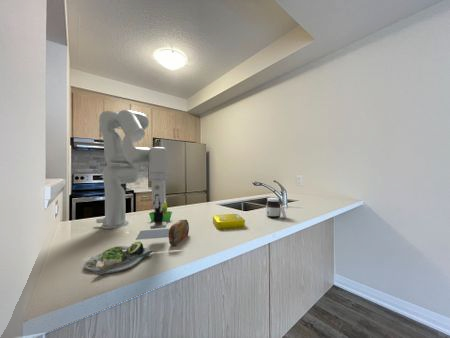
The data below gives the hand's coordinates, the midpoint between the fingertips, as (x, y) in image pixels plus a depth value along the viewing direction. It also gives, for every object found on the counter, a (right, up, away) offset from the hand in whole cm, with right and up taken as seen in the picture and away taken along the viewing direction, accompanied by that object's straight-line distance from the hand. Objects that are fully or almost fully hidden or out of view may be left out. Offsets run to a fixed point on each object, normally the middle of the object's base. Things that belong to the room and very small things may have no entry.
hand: (158, 220), depth 83 cm
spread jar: (+60, -9, +40) cm, 73 cm away
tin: (+9, -9, 0) cm, 13 cm away
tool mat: (-4, -9, +9) cm, 13 cm away
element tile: (+29, -9, +25) cm, 40 cm away
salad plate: (-8, -10, -16) cm, 20 cm away
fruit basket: (-9, -9, +32) cm, 34 cm away
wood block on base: (0, -3, 0) cm, 3 cm away
